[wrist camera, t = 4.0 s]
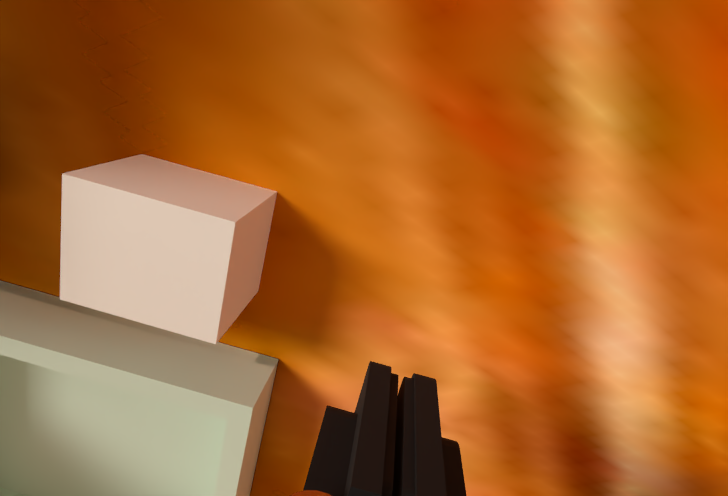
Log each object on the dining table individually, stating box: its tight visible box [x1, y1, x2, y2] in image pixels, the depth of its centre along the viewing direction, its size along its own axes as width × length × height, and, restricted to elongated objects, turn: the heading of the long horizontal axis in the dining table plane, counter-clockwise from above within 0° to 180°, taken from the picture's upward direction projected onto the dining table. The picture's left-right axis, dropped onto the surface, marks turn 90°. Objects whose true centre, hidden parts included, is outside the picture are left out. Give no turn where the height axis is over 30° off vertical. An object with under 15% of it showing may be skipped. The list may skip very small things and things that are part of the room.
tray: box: [0, 281, 279, 496], centre depth 19 cm, size 13×12×3 cm
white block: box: [60, 154, 277, 344], centre depth 15 cm, size 5×4×4 cm
